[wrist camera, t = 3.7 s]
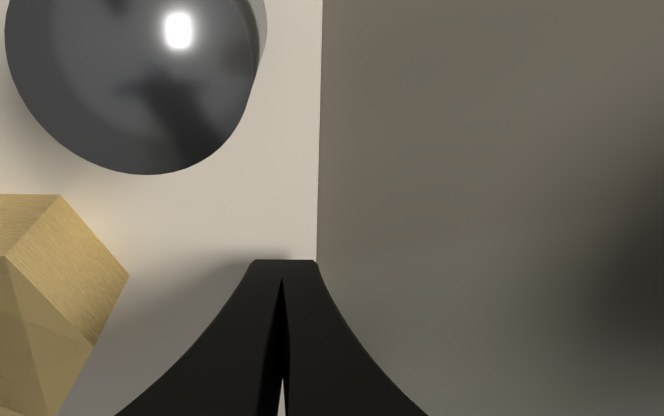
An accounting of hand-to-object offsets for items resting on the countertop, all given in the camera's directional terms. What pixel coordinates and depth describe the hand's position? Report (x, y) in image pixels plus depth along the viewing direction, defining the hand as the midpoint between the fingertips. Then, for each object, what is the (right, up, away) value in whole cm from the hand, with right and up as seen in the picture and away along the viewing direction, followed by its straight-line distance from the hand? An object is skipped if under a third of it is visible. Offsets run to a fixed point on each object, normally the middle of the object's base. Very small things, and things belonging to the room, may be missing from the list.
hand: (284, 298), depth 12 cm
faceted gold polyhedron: (-6, 0, 0) cm, 6 cm away
